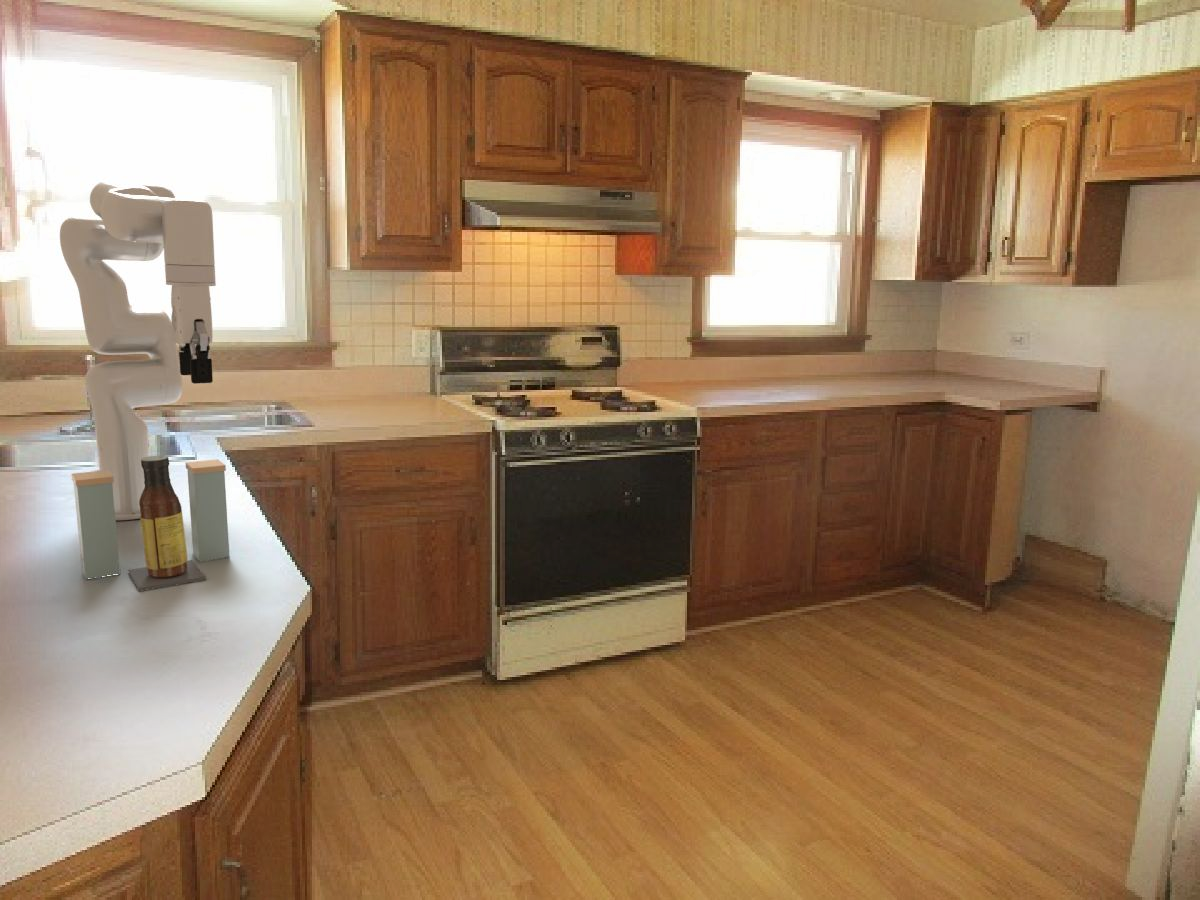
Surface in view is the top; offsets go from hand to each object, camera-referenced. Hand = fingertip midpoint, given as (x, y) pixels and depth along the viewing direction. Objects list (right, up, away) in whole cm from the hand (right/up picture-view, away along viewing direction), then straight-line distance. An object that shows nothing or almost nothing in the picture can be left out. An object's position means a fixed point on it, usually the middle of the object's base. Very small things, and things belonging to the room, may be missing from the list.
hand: (196, 378), depth 149 cm
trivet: (-4, -33, -2) cm, 34 cm away
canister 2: (-2, -31, +9) cm, 33 cm away
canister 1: (-16, -33, -1) cm, 36 cm away
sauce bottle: (-4, -33, -2) cm, 33 cm away
